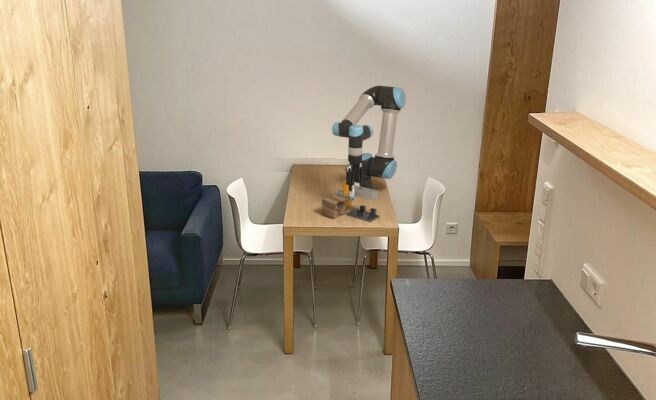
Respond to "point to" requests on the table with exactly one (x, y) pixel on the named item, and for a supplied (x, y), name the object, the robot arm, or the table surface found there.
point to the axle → (365, 192)
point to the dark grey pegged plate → (363, 214)
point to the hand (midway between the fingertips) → (353, 195)
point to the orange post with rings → (346, 193)
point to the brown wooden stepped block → (334, 206)
